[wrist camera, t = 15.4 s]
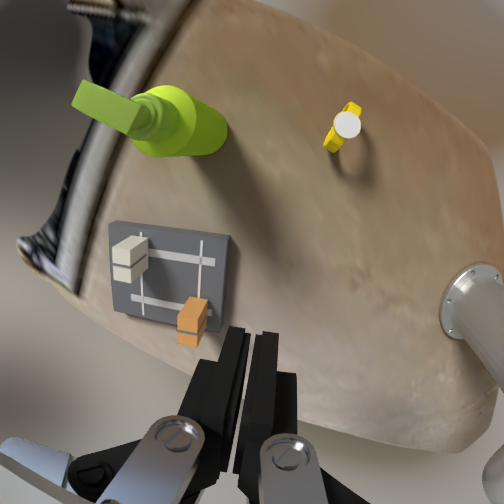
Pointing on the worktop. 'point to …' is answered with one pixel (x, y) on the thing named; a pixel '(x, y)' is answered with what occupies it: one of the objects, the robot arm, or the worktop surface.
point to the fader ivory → (130, 258)
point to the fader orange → (192, 321)
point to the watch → (344, 127)
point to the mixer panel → (173, 273)
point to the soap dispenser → (157, 119)
